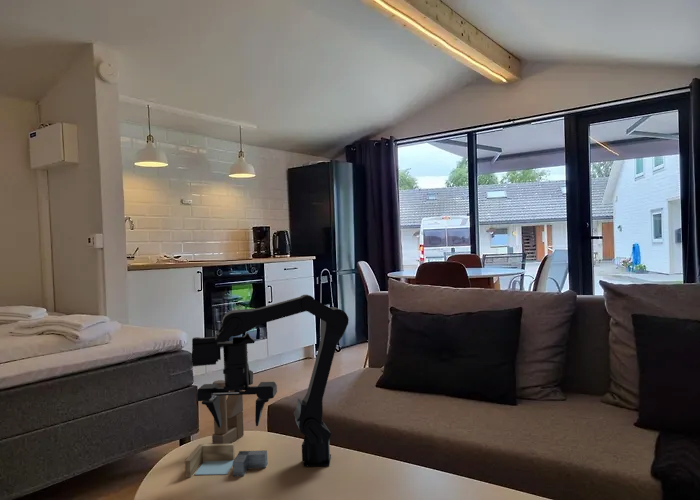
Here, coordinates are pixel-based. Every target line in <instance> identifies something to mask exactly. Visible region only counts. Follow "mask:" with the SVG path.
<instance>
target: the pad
mask: <svg viewBox="0 0 700 500" xmlns="http://www.w3.org/2000/svg"><path fill="white" fill-rule="evenodd" d="M233 461H234V460H227V461H203V462H202V463H201V464H200V466H199V467H198V468H197V470H196V471H195V472H194V474H193V476H206V475H207V476H210V475H211V476H212V475H214V476H215V475H216V476H218V475H228V473H229V472H230V470H231V469H232V468H233Z"/></svg>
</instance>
